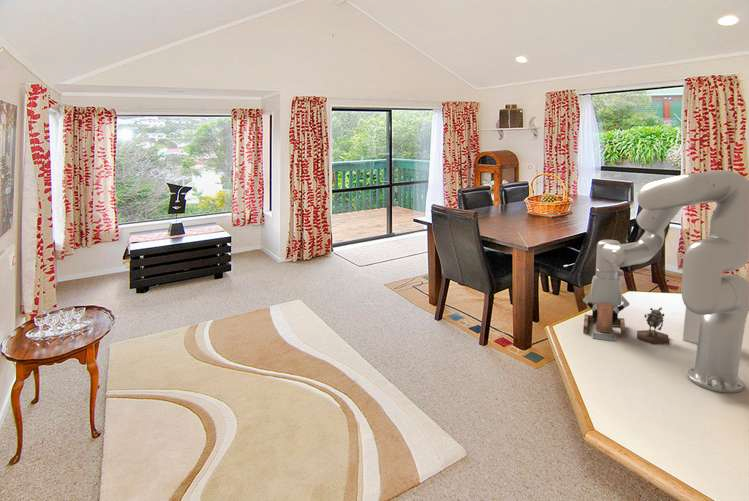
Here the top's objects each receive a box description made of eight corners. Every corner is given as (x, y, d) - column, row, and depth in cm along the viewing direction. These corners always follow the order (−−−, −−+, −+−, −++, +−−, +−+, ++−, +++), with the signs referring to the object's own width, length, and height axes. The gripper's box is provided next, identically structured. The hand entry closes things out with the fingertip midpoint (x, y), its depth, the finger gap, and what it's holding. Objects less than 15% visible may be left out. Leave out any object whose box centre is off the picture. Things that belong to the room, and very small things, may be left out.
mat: (615, 341, 149) (615, 340, 149) (592, 338, 153) (592, 338, 153) (614, 335, 154) (614, 335, 154) (592, 333, 157) (592, 332, 157)
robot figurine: (628, 336, 153) (630, 304, 150) (643, 329, 157) (645, 298, 154) (661, 347, 143) (664, 313, 141) (676, 340, 148) (679, 307, 145)
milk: (703, 345, 143) (710, 282, 138) (681, 339, 148) (688, 279, 142) (709, 339, 146) (717, 278, 141) (688, 334, 151) (695, 275, 146)
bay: (625, 338, 151) (625, 331, 150) (583, 333, 157) (583, 326, 157) (623, 325, 162) (624, 318, 161) (584, 321, 168) (584, 314, 167)
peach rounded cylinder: (612, 327, 160) (614, 299, 157) (612, 335, 153) (614, 306, 151) (595, 325, 162) (597, 298, 160) (595, 333, 156) (596, 305, 153)
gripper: (634, 272, 153) (630, 320, 157) (581, 269, 161) (579, 314, 165) (635, 278, 147) (631, 327, 151) (580, 275, 155) (578, 321, 159)
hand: (604, 320), depth 158 cm, fingers closed on peach rounded cylinder, 5 cm apart
